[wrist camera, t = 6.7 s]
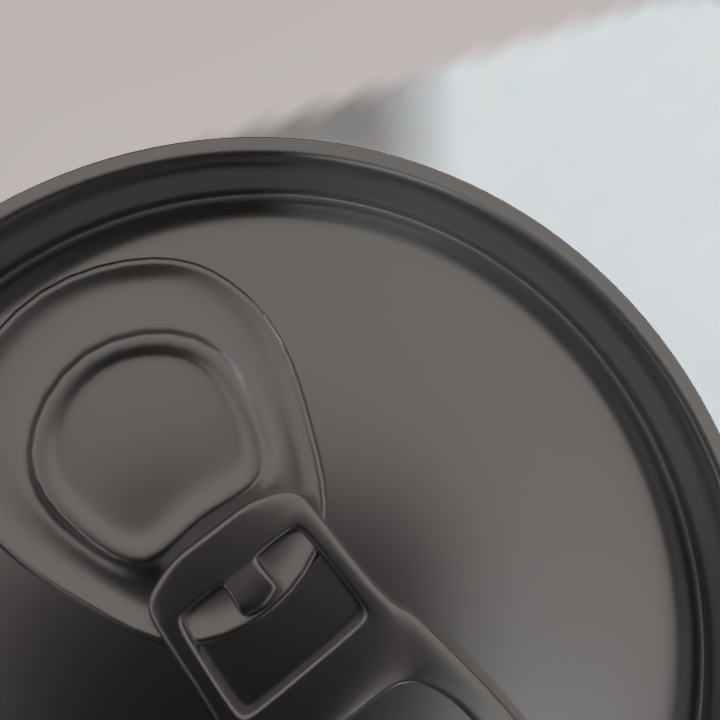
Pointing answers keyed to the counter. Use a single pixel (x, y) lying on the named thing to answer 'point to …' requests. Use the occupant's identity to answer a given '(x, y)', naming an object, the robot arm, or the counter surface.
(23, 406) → the can
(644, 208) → the counter surface
